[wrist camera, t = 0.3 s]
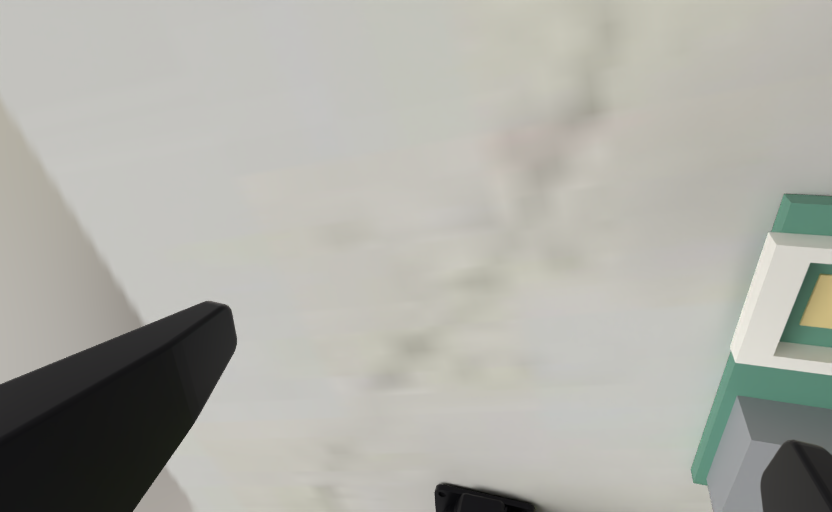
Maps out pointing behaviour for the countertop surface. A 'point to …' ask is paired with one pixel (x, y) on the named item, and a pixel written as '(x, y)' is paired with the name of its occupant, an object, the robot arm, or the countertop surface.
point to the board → (775, 360)
